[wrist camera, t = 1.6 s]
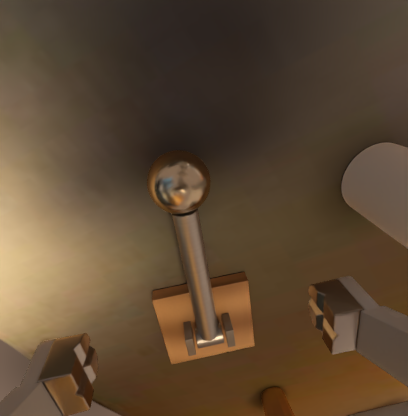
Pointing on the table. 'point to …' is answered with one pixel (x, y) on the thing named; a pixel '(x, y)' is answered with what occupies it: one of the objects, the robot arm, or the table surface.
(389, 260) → the table surface
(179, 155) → the ball topped rod
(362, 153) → the cylindrical container
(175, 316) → the holder base
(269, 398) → the milkshake
